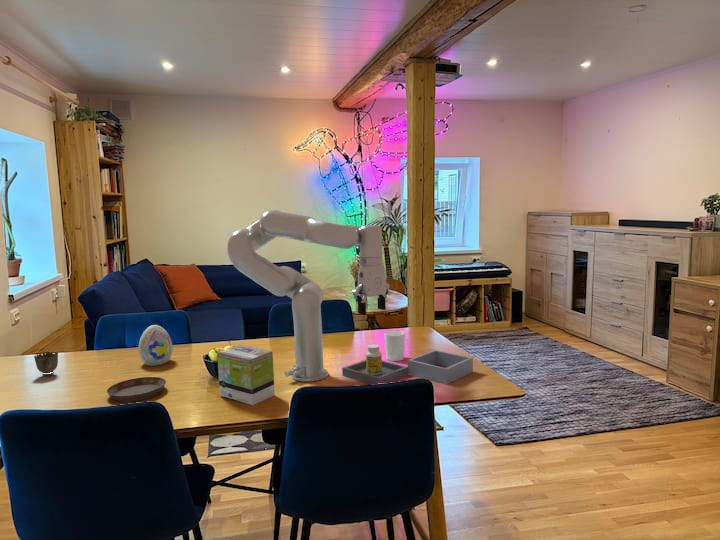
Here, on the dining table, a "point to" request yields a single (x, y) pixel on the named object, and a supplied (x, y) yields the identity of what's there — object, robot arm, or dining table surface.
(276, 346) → the dining table surface
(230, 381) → the tea box
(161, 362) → the decorative egg
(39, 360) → the cup
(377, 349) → the supplement bottle
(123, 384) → the plant saucer
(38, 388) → the dining table surface
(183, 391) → the dining table surface
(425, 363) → the gray square frame
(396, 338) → the white cup
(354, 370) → the tray
